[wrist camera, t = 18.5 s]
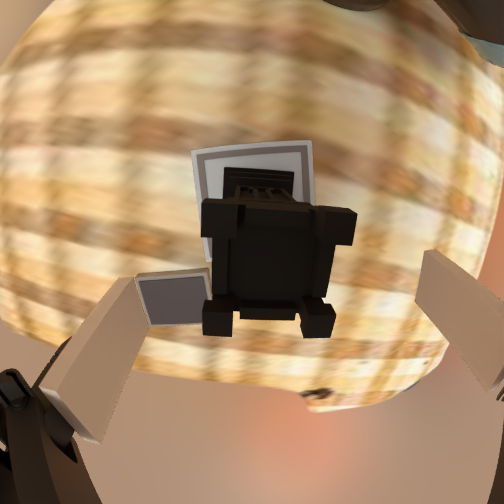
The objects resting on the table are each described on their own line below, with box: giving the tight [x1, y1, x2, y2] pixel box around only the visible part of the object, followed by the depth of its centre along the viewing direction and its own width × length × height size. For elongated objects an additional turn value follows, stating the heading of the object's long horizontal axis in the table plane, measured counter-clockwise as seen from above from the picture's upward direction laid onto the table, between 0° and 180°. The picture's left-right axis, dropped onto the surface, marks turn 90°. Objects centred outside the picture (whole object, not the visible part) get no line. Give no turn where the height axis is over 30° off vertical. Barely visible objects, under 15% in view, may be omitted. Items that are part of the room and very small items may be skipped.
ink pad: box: [135, 268, 212, 326], centre depth 36 cm, size 8×10×2 cm
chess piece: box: [201, 167, 357, 338], centre depth 22 cm, size 8×8×20 cm
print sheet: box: [191, 140, 315, 262], centre depth 32 cm, size 14×14×1 cm
